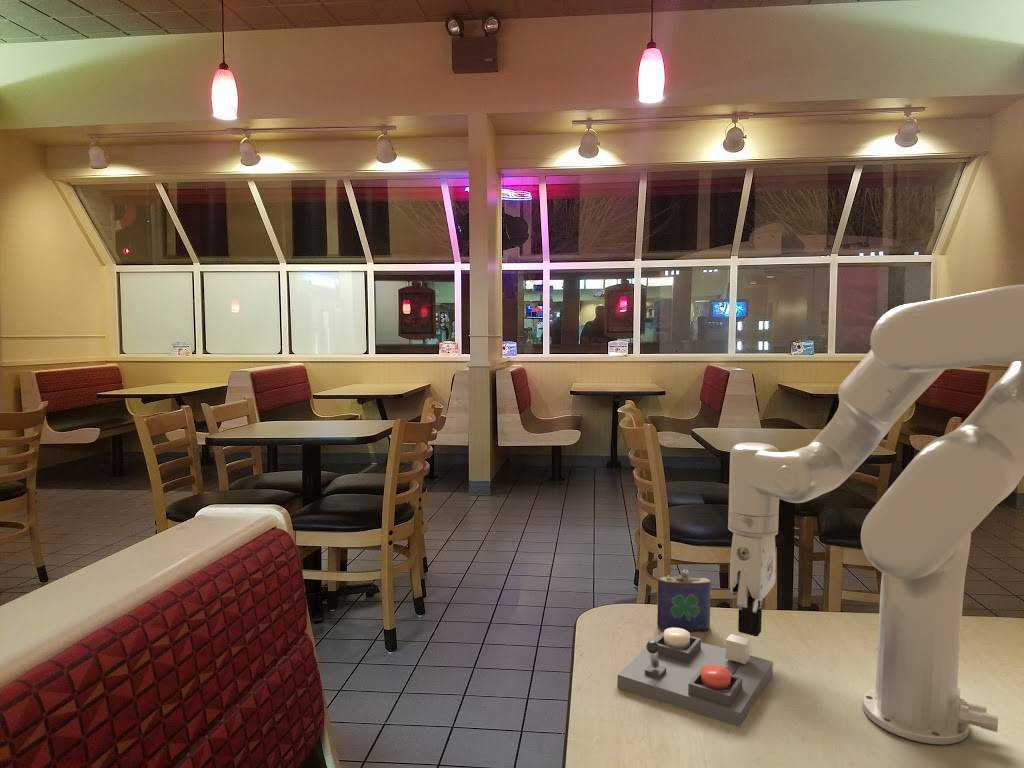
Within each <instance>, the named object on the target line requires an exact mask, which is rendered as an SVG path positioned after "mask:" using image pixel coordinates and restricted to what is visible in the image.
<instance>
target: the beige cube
mask: <svg viewBox="0 0 1024 768" xmlns="http://www.w3.org/2000/svg"><path fill="white" fill-rule="evenodd" d="M725 649H726V657H725V659H729V660H732V661H736V662H740V663H743V664H746V662H747V661H748V660H749V658H750V655H751V638H747V637H745V636H740V635H737V634H732V633H731V634H729V635H728V637H727V638H726V639H725Z"/></svg>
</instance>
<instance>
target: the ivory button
mask: <svg viewBox="0 0 1024 768" xmlns="http://www.w3.org/2000/svg"><path fill="white" fill-rule="evenodd" d="M663 632H664V643H665V645H667V646H669V647H673V648H677V649H684V648H687V647H689V646H690V636H691V632H688V631H687V630H685V629H681V628H668V629H666V630H665V631H663Z"/></svg>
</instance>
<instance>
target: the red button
mask: <svg viewBox="0 0 1024 768" xmlns="http://www.w3.org/2000/svg"><path fill="white" fill-rule="evenodd" d="M701 683H702V684H703V685H704V686H706V687H708V688H711V689H715V690H726V689H728V688H729V687H730V685H731V673H730V671H729V670H728V669H726V668H725V667H722V666H719V665H706V666H704V667H702V669H701Z"/></svg>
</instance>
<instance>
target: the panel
mask: <svg viewBox="0 0 1024 768" xmlns="http://www.w3.org/2000/svg"><path fill="white" fill-rule="evenodd" d="M652 641H655V642H657V644H658V646H659V650H658V659H659V667H658V668H653V667H652V666H651V661H650V655H649V652H648V651H647V649H646V647H644V648H643V650H641V652H639V654H638V655H636V656H635V657H634V658H633V659H632V660H631V661H630V662H629V663H628V664H627V665H626V666H625V667H624V668H622V669H621V671H620V672H619V673H618V674H617V683H616V684H617V688H618V689H621V690H624V691H627V692H630V693H632V694H637V695H640V696H642V697H645V698H649V699H652V700H654V701H658V702H660V703H664V704H667V705H670V706H673V707H676V708H679V709H682V710H685V711H689V712H692V713H695V714H697V715H701V716H704V717H707V718H710V719H713V720H716V721H719V722H722V723H726V724H728V725H731V726H735V727H737V728H741V726H742V725H743V723H744V721H746V719H747V716H748V715H749V713H750V712H751V710H752V708H753V707H754V705H755V703H756V702H757V700H758V698H759V697H760V695H761V693H762V692H763V690H765V689H764V688H765V687H766V685H767V684H768V682H769V680H770V678H771V677H772V676H773V672H774V667H773V666H774V661H773V660H769V659H766V658H761V657H759V656H754V655H751V654H750V658H749V660H748V661H747V662H746V664H743V663H740V662H736V661H732V660H729V659H725V657H726V648H724V647H720V646H716V645H712V644H709V643H706V642H702V638H700V637H695V636H693V635H690V646H689V647H687V648H684V649H677V648H673V647H669V646H667V645H665V643H664V631H661V632H660V634H658V635H657V636H656V637H655V638H654V639H652ZM706 665H719V666H722V667H725V668H726V669H728V670H729V671H730V673H731V685H730V687H729V688H728V689H726V690H715V689H711V688H708V687H706V686H704V685H703V684H702V683H701V669H702V667H704V666H706Z"/></svg>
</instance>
